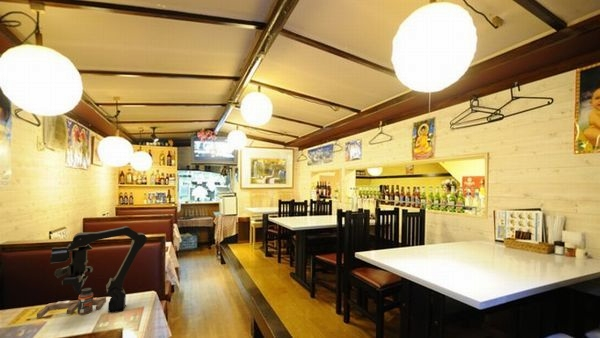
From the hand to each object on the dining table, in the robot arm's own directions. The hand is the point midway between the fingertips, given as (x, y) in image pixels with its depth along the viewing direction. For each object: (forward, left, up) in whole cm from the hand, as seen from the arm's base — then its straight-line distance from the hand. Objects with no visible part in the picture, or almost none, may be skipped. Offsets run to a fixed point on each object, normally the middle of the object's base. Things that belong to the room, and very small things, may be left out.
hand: (77, 293), depth 130 cm
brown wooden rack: (+5, -13, -12) cm, 18 cm away
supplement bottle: (-1, -7, -12) cm, 14 cm away
